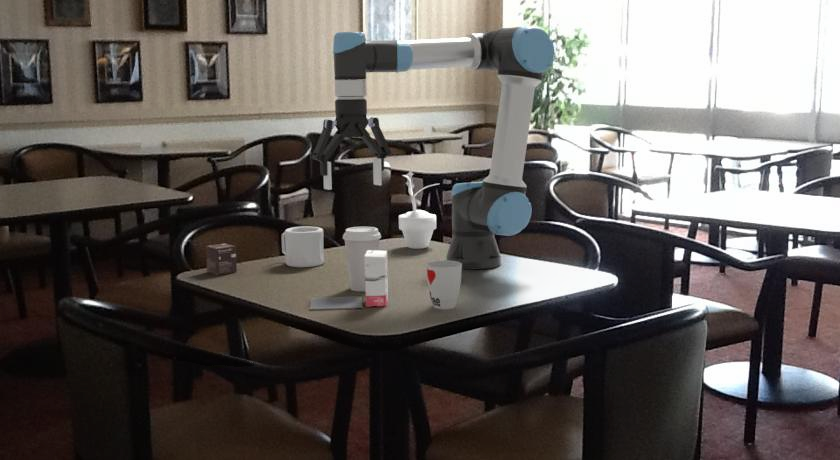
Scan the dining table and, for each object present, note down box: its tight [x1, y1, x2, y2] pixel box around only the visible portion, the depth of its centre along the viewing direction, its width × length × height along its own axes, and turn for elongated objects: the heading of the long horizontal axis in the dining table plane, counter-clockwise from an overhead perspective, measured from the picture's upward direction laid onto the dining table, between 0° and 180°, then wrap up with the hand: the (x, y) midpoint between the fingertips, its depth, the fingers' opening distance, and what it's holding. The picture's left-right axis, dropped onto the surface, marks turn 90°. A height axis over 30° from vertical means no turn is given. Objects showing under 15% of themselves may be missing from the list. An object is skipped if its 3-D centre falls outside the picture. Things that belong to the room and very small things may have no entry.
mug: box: [281, 225, 325, 268], centre depth 272 cm, size 14×11×10 cm
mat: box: [309, 295, 363, 311], centre depth 225 cm, size 12×11×1 cm
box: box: [205, 243, 238, 276], centre depth 262 cm, size 6×6×7 cm
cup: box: [426, 260, 463, 310], centre depth 220 cm, size 8×8×10 cm
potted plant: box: [398, 167, 439, 250], centre depth 293 cm, size 13×12×25 cm
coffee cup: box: [342, 226, 382, 292], centre depth 239 cm, size 10×10×15 cm
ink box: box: [364, 249, 389, 308], centre depth 225 cm, size 9×5×12 cm, turn 178°
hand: (353, 187), depth 233 cm, fingers open, 13 cm apart
